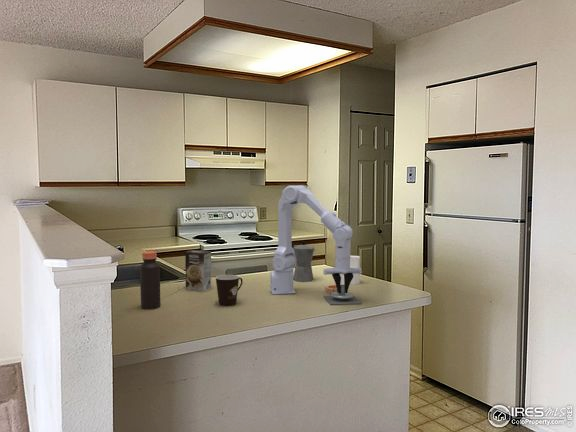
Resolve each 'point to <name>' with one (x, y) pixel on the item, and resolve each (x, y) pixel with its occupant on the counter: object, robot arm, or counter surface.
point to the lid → (342, 293)
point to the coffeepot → (303, 262)
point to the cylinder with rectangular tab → (353, 264)
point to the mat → (342, 300)
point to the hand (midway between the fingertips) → (342, 292)
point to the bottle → (150, 281)
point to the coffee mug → (227, 289)
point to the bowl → (330, 289)
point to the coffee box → (198, 270)
